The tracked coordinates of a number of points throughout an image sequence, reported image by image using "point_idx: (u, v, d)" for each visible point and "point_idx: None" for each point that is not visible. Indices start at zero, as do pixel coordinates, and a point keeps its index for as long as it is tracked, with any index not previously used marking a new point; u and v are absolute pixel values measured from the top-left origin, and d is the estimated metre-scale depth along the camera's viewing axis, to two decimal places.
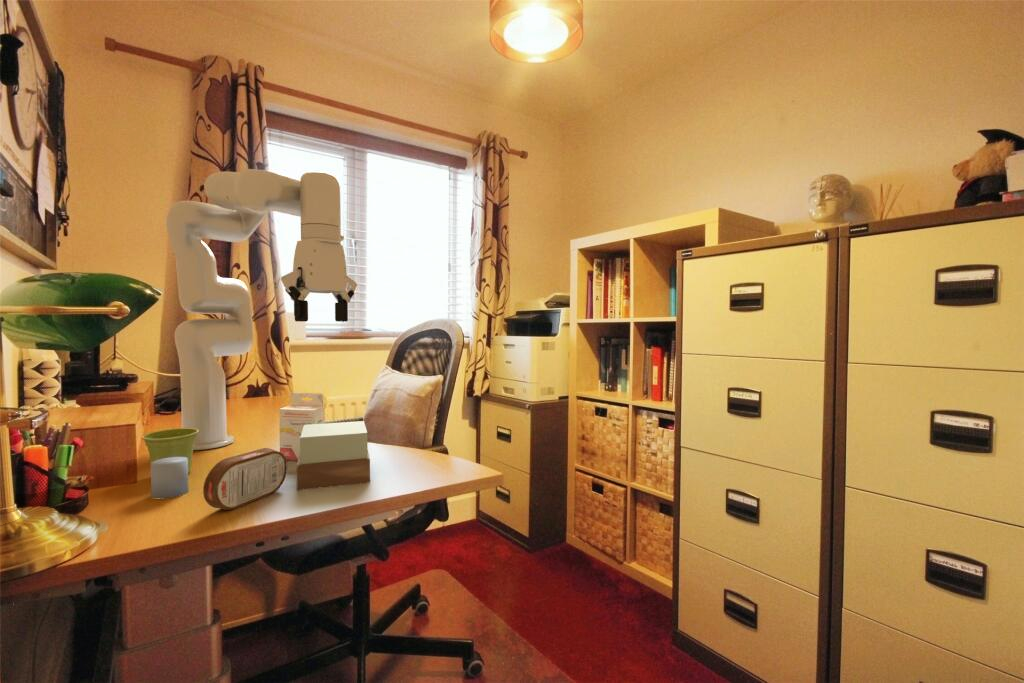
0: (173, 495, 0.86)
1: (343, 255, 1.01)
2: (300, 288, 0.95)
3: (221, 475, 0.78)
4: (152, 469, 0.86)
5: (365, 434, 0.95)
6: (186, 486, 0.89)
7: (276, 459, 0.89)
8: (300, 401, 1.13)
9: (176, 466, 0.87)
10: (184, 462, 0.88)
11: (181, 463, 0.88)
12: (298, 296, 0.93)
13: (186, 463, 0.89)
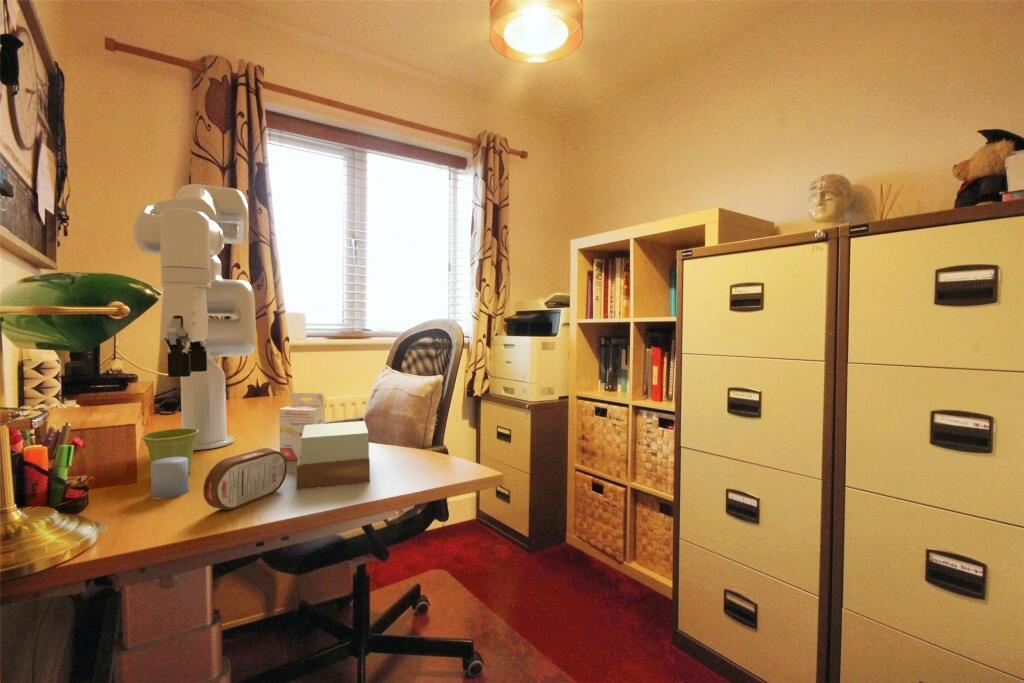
0: (173, 495, 0.86)
1: (206, 300, 0.93)
2: None
3: (221, 475, 0.78)
4: (152, 469, 0.86)
5: (366, 434, 0.95)
6: (186, 486, 0.89)
7: (276, 459, 0.89)
8: (300, 401, 1.13)
9: (176, 466, 0.87)
10: (184, 462, 0.88)
11: (181, 463, 0.88)
12: (183, 349, 0.83)
13: (186, 463, 0.89)
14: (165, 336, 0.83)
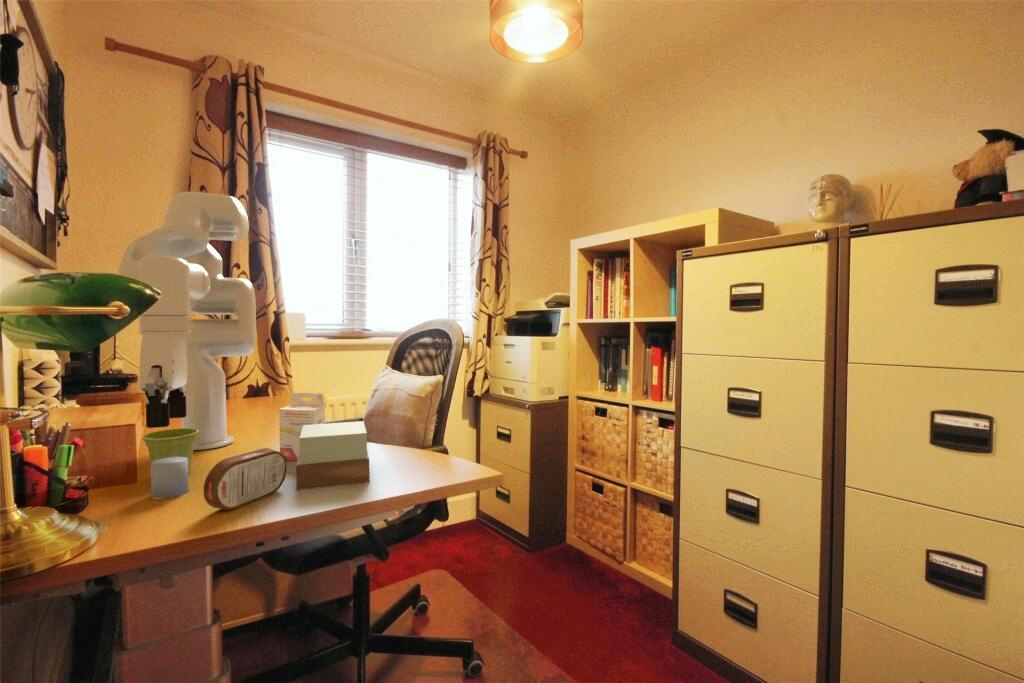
0: (173, 495, 0.86)
1: None
2: None
3: (221, 475, 0.78)
4: (152, 469, 0.86)
5: (364, 434, 0.95)
6: (186, 486, 0.89)
7: (276, 459, 0.89)
8: (300, 401, 1.13)
9: (176, 466, 0.87)
10: (184, 462, 0.88)
11: (181, 463, 0.88)
12: (161, 399, 0.82)
13: (186, 463, 0.89)
14: (143, 386, 0.82)
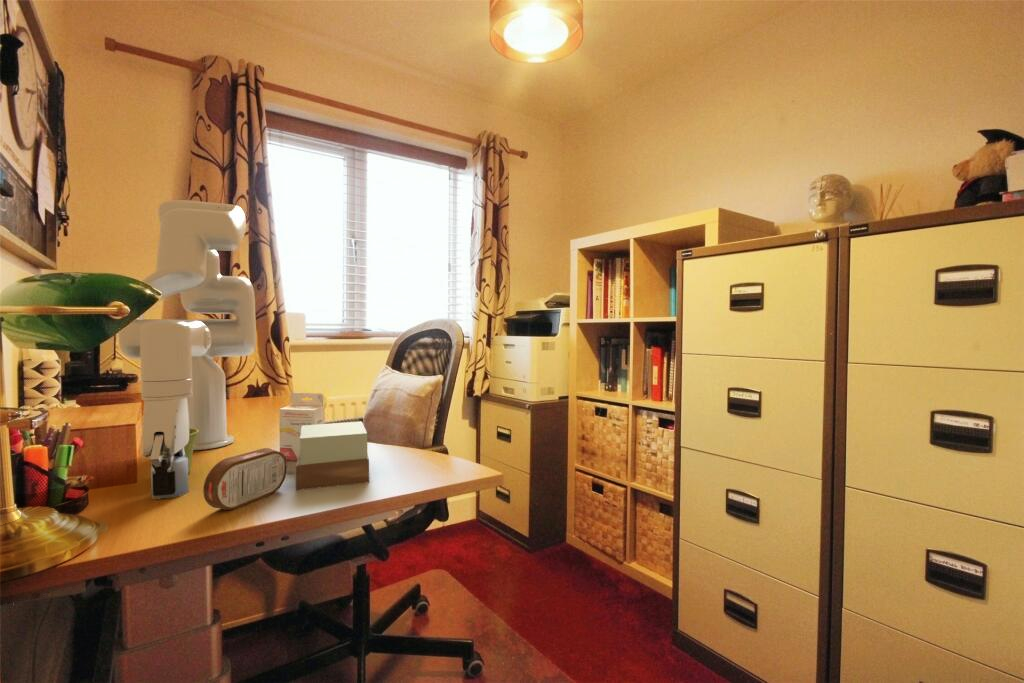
0: (173, 495, 0.86)
1: None
2: None
3: (221, 475, 0.78)
4: None
5: (365, 434, 0.95)
6: (186, 486, 0.89)
7: (276, 459, 0.89)
8: (300, 401, 1.13)
9: (176, 466, 0.87)
10: (184, 462, 0.88)
11: (181, 463, 0.88)
12: (168, 470, 0.84)
13: (186, 463, 0.89)
14: (146, 453, 0.83)
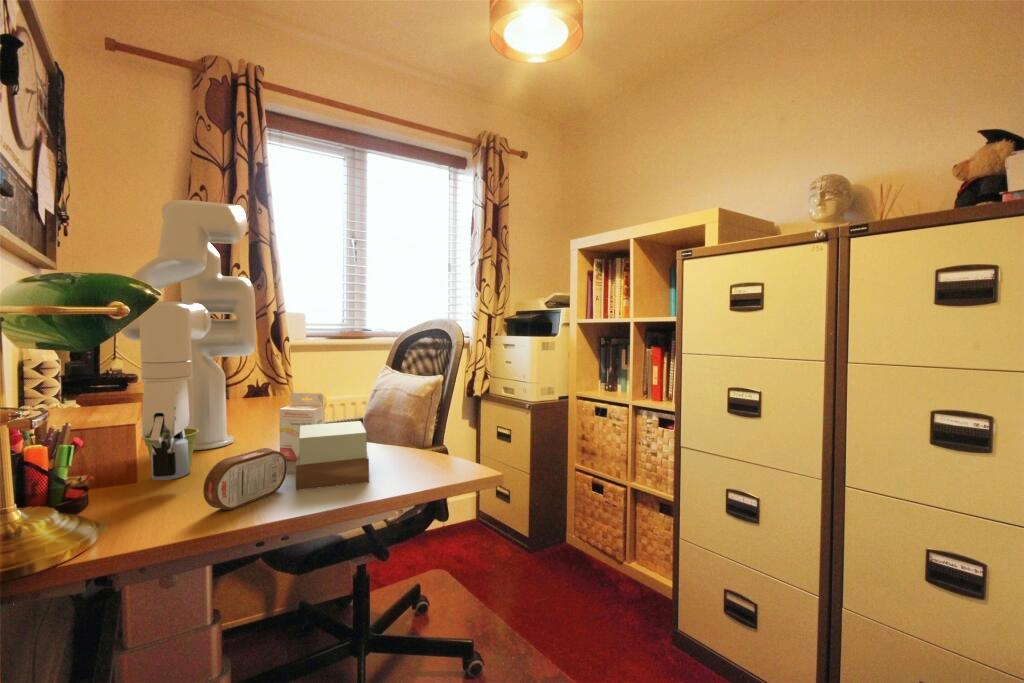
0: (173, 476, 0.87)
1: (187, 386, 0.92)
2: None
3: (221, 475, 0.78)
4: None
5: (364, 434, 0.95)
6: (186, 467, 0.89)
7: (276, 459, 0.89)
8: (300, 401, 1.13)
9: (176, 447, 0.87)
10: (184, 444, 0.88)
11: (181, 445, 0.88)
12: (168, 451, 0.85)
13: (186, 445, 0.89)
14: (146, 434, 0.83)
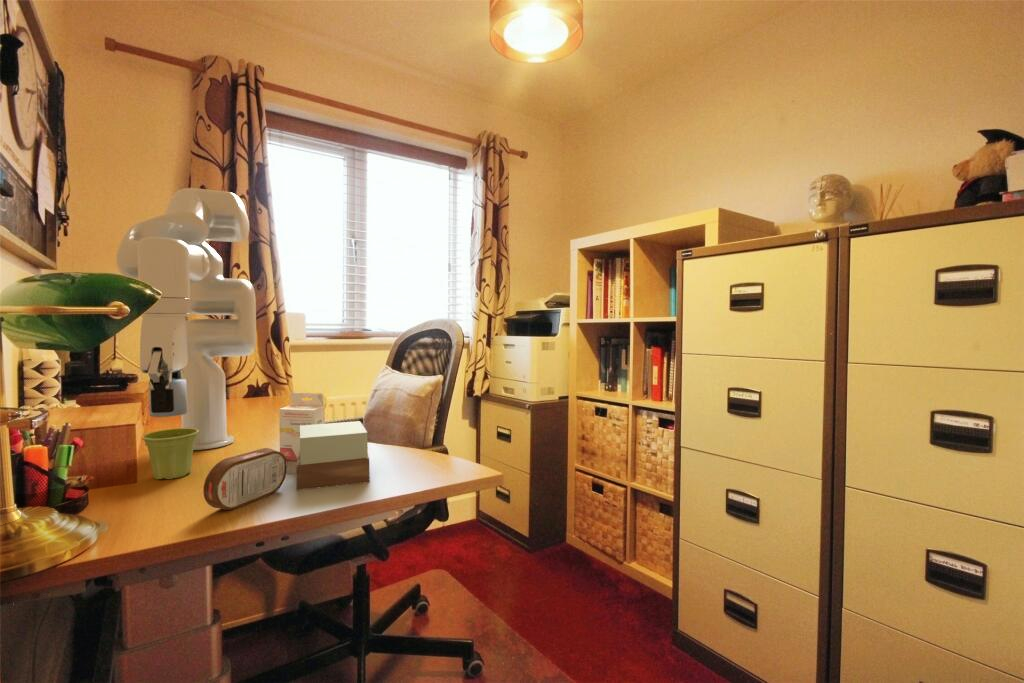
0: (171, 414, 0.86)
1: None
2: None
3: (221, 475, 0.78)
4: None
5: (365, 434, 0.95)
6: (184, 406, 0.89)
7: (276, 459, 0.89)
8: (300, 401, 1.13)
9: (175, 384, 0.86)
10: (182, 382, 0.88)
11: (179, 382, 0.87)
12: (166, 387, 0.84)
13: (184, 383, 0.89)
14: (144, 368, 0.82)
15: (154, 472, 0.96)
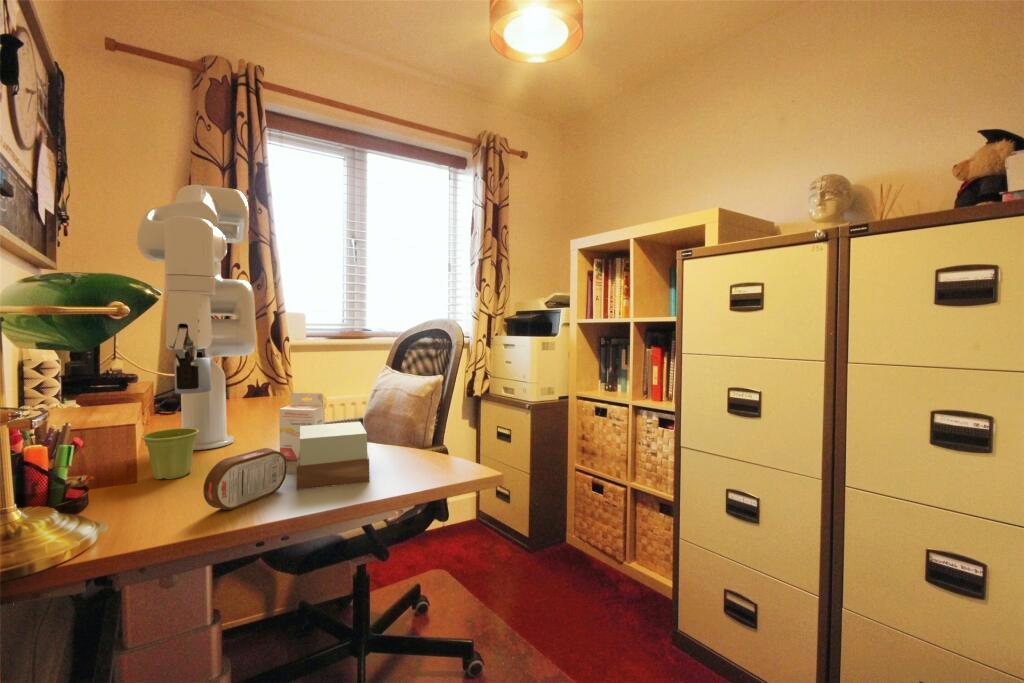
0: (196, 390, 0.87)
1: (210, 307, 0.93)
2: None
3: (221, 475, 0.78)
4: None
5: (365, 435, 0.95)
6: (209, 384, 0.89)
7: (276, 459, 0.89)
8: (300, 401, 1.13)
9: (199, 362, 0.87)
10: (207, 360, 0.89)
11: (204, 360, 0.88)
12: (191, 363, 0.85)
13: (209, 361, 0.89)
14: (170, 344, 0.83)
15: (154, 472, 0.96)
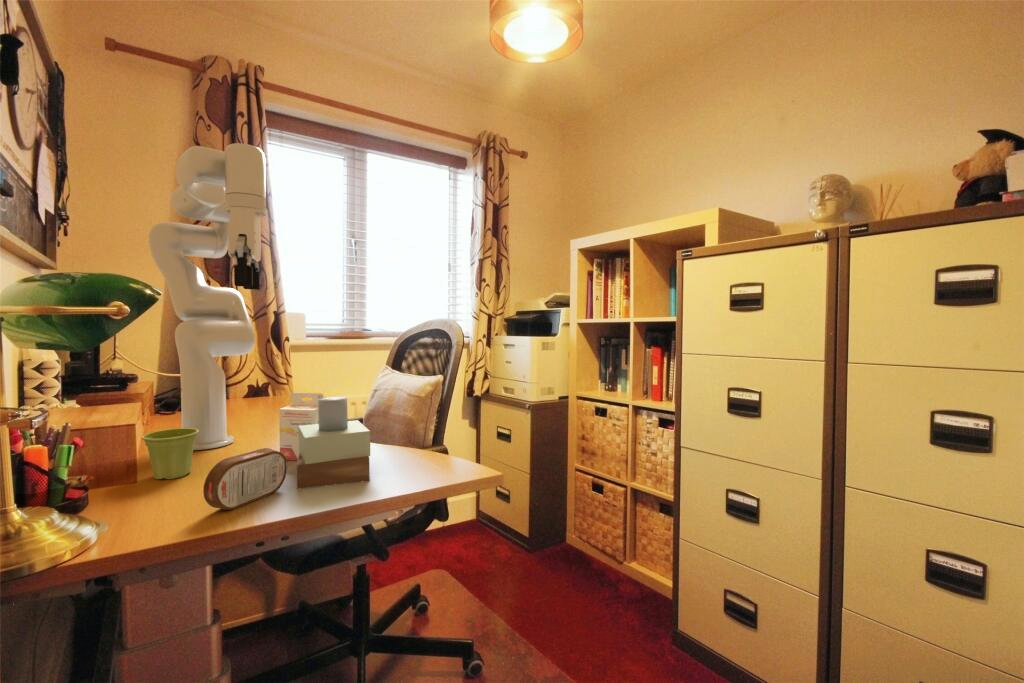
0: (339, 428, 0.97)
1: None
2: None
3: (221, 475, 0.78)
4: (321, 405, 0.96)
5: (368, 432, 0.97)
6: (347, 422, 0.99)
7: (276, 459, 0.89)
8: (300, 401, 1.13)
9: (341, 402, 0.97)
10: (346, 400, 0.99)
11: (344, 400, 0.98)
12: (247, 262, 0.98)
13: (346, 401, 0.99)
14: (232, 251, 0.98)
15: (154, 472, 0.96)
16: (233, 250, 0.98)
